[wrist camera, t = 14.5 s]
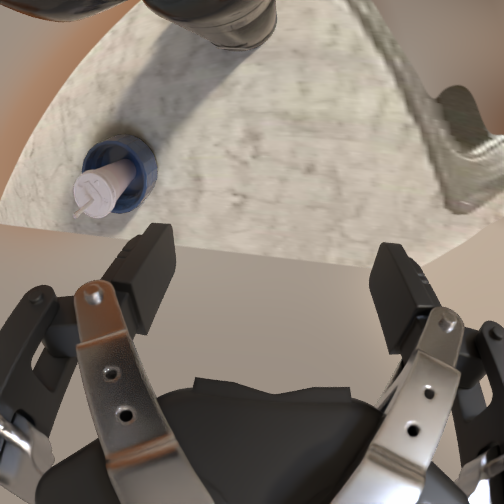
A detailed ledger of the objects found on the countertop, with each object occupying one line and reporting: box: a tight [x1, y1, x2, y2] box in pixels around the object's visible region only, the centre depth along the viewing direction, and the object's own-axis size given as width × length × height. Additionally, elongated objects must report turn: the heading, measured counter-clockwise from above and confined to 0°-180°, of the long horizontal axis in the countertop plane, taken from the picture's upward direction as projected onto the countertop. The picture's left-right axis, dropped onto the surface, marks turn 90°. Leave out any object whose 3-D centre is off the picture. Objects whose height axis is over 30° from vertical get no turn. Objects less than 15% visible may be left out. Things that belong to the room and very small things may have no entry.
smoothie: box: [73, 159, 136, 219], centre depth 33 cm, size 6×6×14 cm
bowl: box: [82, 134, 157, 214], centre depth 38 cm, size 11×11×4 cm
